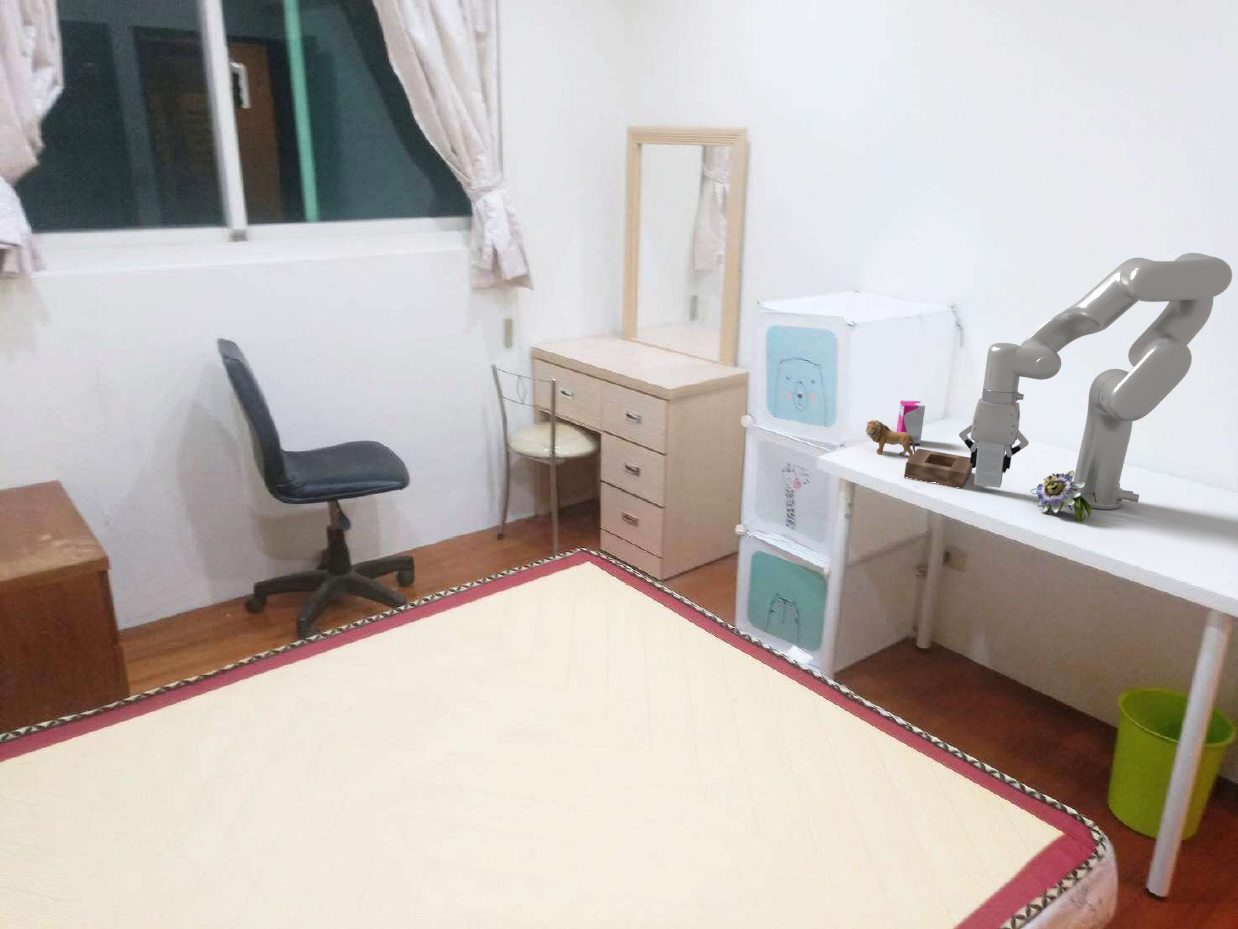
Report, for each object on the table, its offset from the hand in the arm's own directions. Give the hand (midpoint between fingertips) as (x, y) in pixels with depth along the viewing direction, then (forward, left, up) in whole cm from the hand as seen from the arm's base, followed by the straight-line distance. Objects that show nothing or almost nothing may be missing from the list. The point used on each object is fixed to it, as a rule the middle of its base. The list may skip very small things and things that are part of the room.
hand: (989, 468), depth 217 cm
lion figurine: (+27, -15, -6) cm, 31 cm away
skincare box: (0, 0, -4) cm, 4 cm away
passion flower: (-17, +5, -6) cm, 19 cm away
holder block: (+12, -5, -6) cm, 14 cm away
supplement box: (+25, -30, -6) cm, 39 cm away
